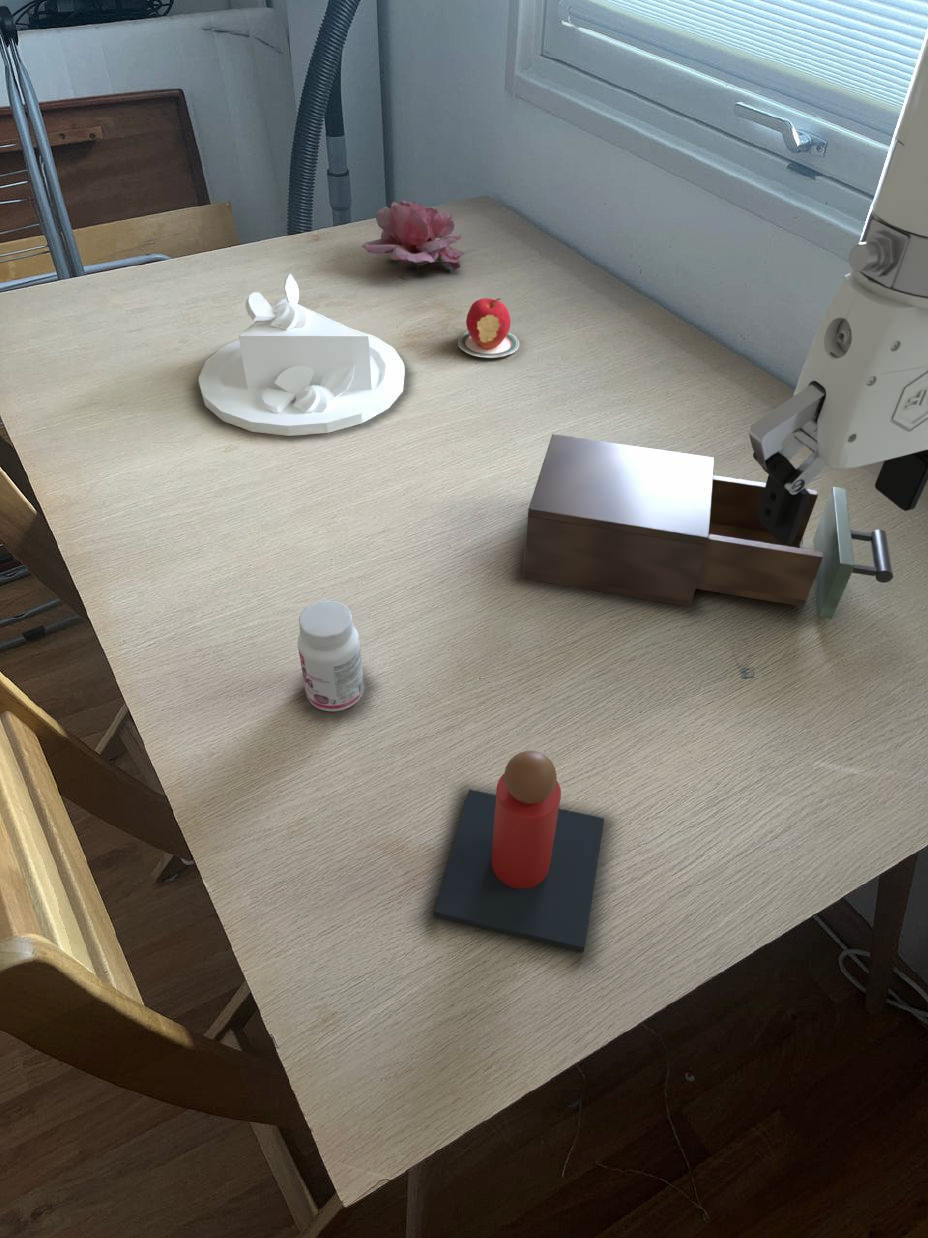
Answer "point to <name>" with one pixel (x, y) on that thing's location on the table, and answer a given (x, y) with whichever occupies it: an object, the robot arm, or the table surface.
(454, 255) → the flower
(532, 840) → the red cylinder
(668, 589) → the cabinet
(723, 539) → the drawer
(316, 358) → the dish
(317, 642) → the pill bottle
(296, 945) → the table surface
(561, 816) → the coaster
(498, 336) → the apple
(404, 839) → the table surface
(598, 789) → the table surface
